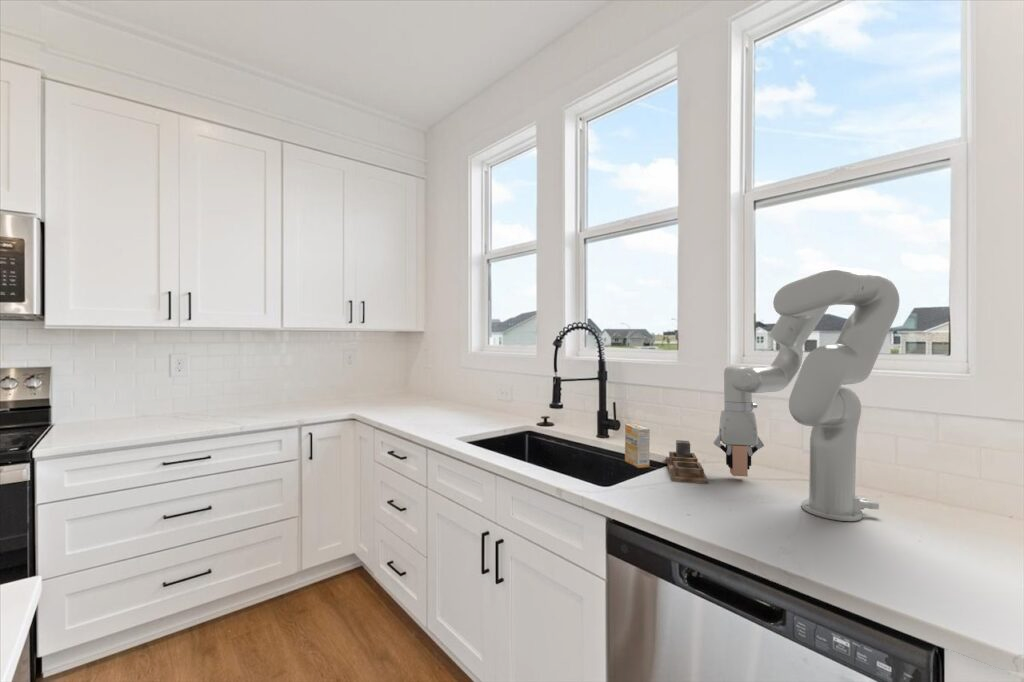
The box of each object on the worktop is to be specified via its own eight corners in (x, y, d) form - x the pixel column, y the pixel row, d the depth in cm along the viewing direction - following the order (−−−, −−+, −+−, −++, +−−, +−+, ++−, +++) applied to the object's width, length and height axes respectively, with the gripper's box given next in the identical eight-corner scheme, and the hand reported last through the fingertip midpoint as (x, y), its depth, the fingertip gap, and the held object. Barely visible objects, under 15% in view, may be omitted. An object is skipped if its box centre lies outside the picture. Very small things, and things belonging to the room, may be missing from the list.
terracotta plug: (744, 472, 143) (743, 443, 143) (747, 476, 139) (747, 446, 139) (730, 472, 144) (729, 442, 144) (733, 475, 140) (732, 445, 140)
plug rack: (696, 461, 162) (696, 438, 161) (708, 483, 138) (708, 456, 138) (665, 459, 164) (665, 437, 164) (672, 481, 141) (672, 454, 140)
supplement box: (624, 461, 162) (624, 423, 161) (636, 460, 163) (636, 423, 163) (637, 468, 154) (637, 428, 154) (650, 467, 155) (650, 427, 155)
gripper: (764, 406, 143) (765, 466, 143) (706, 404, 147) (706, 463, 147) (772, 409, 136) (773, 472, 136) (710, 408, 140) (711, 469, 140)
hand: (738, 467), depth 141 cm, fingers closed on terracotta plug, 4 cm apart
